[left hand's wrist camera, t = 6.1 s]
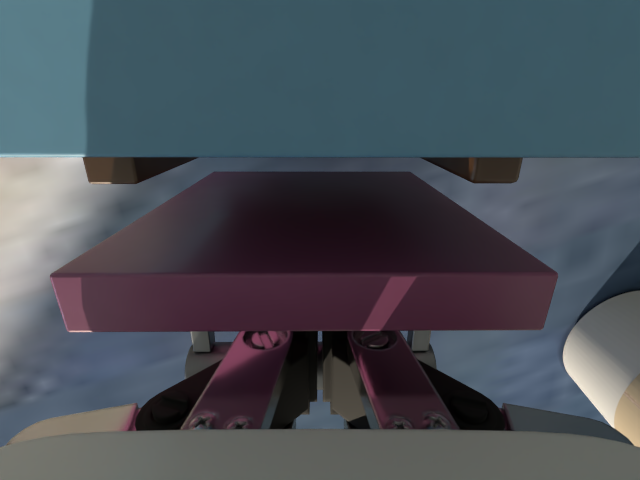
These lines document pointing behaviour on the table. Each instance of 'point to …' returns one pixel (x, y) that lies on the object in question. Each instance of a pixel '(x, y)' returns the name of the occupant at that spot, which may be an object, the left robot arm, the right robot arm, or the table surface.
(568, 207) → the table surface
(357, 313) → the drawer
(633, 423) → the coffee cup
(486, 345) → the table surface
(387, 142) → the light blue storage box
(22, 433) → the left robot arm
